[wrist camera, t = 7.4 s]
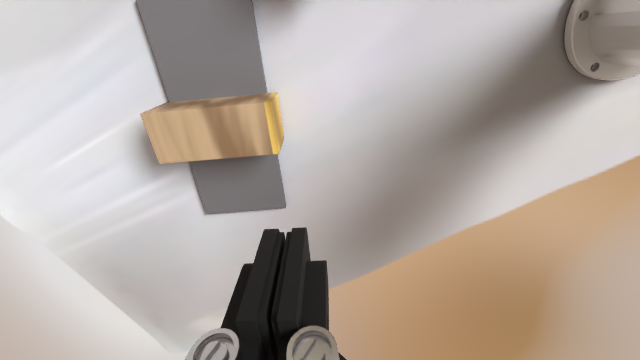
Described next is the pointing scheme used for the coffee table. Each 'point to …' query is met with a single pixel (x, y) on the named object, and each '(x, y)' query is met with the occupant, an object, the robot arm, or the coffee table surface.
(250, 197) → the mat
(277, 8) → the coffee table surface
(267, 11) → the coffee table surface
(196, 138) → the oak block
